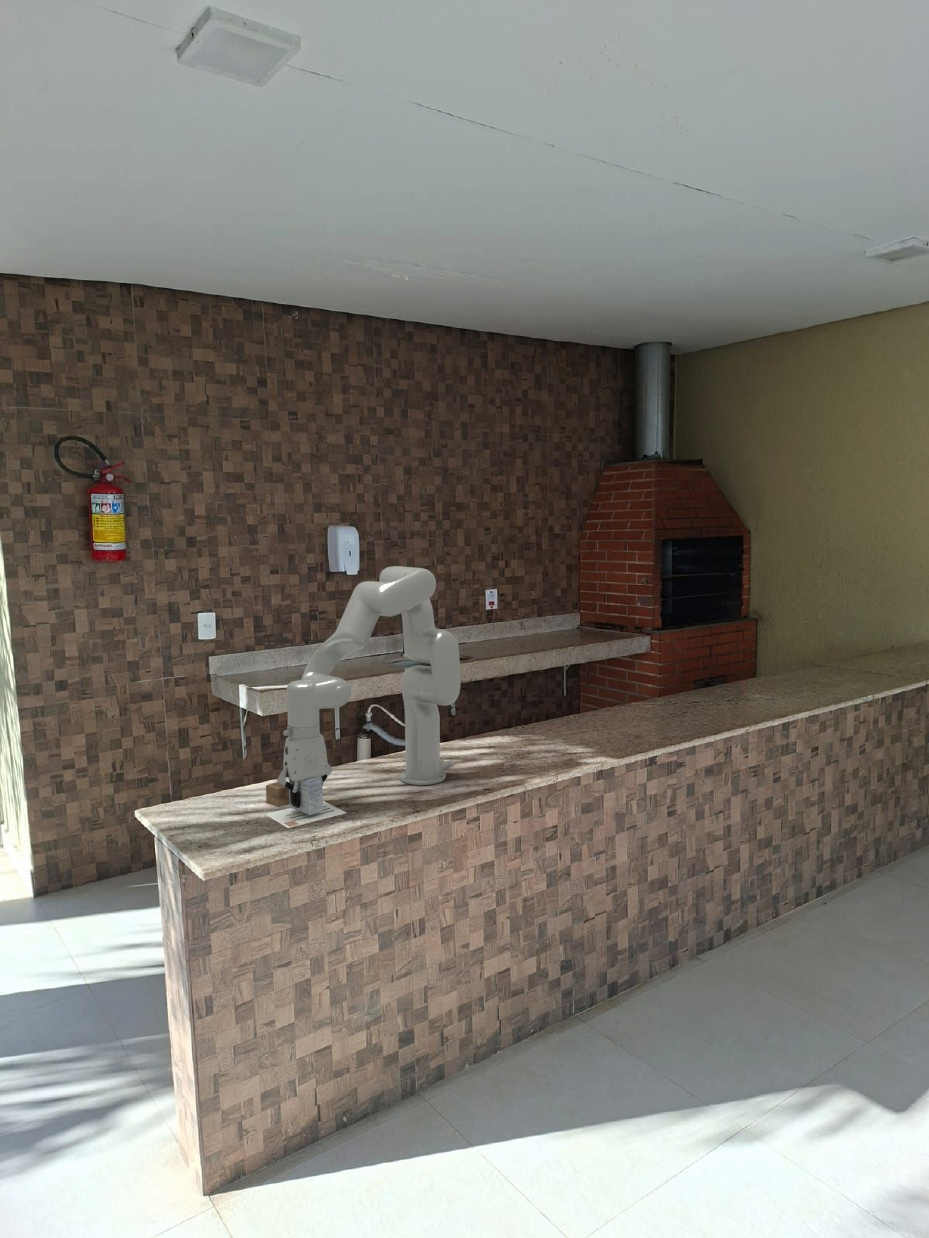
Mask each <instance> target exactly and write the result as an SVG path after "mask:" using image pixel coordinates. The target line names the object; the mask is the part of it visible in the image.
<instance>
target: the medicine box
mask: <svg viewBox="0 0 929 1238" xmlns="http://www.w3.org/2000/svg"><path fill="white" fill-rule="evenodd" d="M289 780H290V778H288V781H289ZM298 792H300V808H296V807H294V806H292V804H291V802H290V804H289V808H292V809H295V810H298V811H300V812H303V813H306V814H309V815H311V814H315V813H317V812H320V811H322V810H323V801H324V799H323V798H324V797H323V795H324V794H323V786H322V777H320V776H318V777H314V778H310V779H306V780H303V781H299V786H298ZM289 798H290V790H289Z"/></svg>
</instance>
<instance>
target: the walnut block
mask: <svg viewBox="0 0 929 1238" xmlns="http://www.w3.org/2000/svg"><path fill="white" fill-rule="evenodd" d="M265 793H266V794H265V799H266V803H267V804H269V805H272V806H275V807H277V808H280V807H283V806H286V805H287V806H288V805H290V798H289V789H288V788H286V787H285V786H284V785H282V784H281V783H279V782H277V781H275V782H273V783H269V784H266V785H265Z"/></svg>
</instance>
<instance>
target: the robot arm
mask: <svg viewBox="0 0 929 1238" xmlns="http://www.w3.org/2000/svg"><path fill="white" fill-rule="evenodd" d="M436 588H437V581H436V577H435V575H434V574H433V573H432V572H431V571H430V570H429V569H426V568H423V567H411V566H410V567H409V566H402V565H401V566H399V565H396V566H395V565H393V566H387V567H386V568H384V569H383V570H381V572H380V574H379V581H371V580H370V581H369V580H368V581H367V580H366V581H362V582H359V583H358V584H357V585H356V586H355V588H354V589H353V592H352V594H351V595H350V598H349V600H348V602H347V605H346V607H345V609H344V612H343V614H342V617H341V619H340V621H339V623H338V626H337V628H336V630H335V632H334V633H333V634H332V635H331V636H330V637H329V638H327V639H326V640H325V641H324V642H323V643H322V644H321V645H320V646H319V647H318V648H317V649H316V650H315V652H313V654H312V656H311V657H310V659H309V661H308V662H307V664H306V667H305V670H304V671H303V674H302V676H301V679H298V680H294V681H293V680H292V681H290V682H289V683H288V684H287V686H286V703H287V704H286V705H287V726H286V727H287V729H285V730H283V732H282V733H283V736H284V737H286V739H285V744H284V748H283V749H284V750H283V763H282V764H283V765H282V766H283V768H282V770H281V772H280V774H279V775H278V777H277V779H276V782H279V783H281V784H282V785H284V786H285V787H286V788H288V789H289V790H290V802H291V804H292V806H294V807H296V808H300V792H298V786H299V781H303V780H306V779H310V778H314V777H318V776H320V777H322V787H323V786H324V782H325V781H326V780H327V778H328V777H329V775H330V774H332V772H333V768H332V766H331V765H330V764H329V762H328V752H327V747H326V742H325V737H324V735H323V734H321V733H320V732H321V731H320V727H321V726H320V710H323V709H337V708H340V707H343V706H345V705H346V704H347V703H348V702H349V701H350V699H351V698H352V697H351V696H352V688H351V686H350V684H349V683H348V682H347V680H345V679H343V678H342V677H341V678H340V677H338V676H332V675H330V674H331V672H332V671H333V670H334V668H335V666H336V665H337V664H338V663H339V662H340V661H341V660H343V659H344V658H346V657H347V656H349V655H352V654H354V653H356V652H358V651H361V650H362V649H364V648H365V647H366V646H367V645H368V643H369V641H370V638H371V636H372V633H373V631H374V628H375V626H376V624H377V621H378V620H379V617H380V616H381V617H382V616H383V617H395V616H398V615H400V614H401V619H402V632H403V634H402V637H403V648H404V654H405V656H406V658H408V659H410V660H411V661H414V662H417V663H423V664H429V665H430V666H427V665H412V666H409V667H408V668H406V670H404V672H403V674H402V676H401V678H400V679H401V680H400V690H401V694H402V699H403V706H404V727H405V728H404V730H405V732H404V736H405V737H404V739H405V741H404V743H405V744H404V745H405V770H404V771H402V772H401V773H400V775H399V779H400V781H402V782H403V783H405V784H407V785H409V784H410V785H412V786H429V785H430V786H431V785H436V784H439V783H442V782H443V781H445V780H446V778H447V777H446V772H444V771H445V770H446V769H448V768H449V769H450V768H453V767H454V766H455V762H454V760H452V759H450V760H446V761H445V759H441V744H440V743H441V739H440V738H441V737H440V736H441V734H440V733H441V731H440V730H441V729H440V728H441V727H440V723H441V722H440V721H441V720H440V719H441V717H440V712H439V708H438V706H443V707H444V706H450V705H452V704H454V703H455V702H456V701H457V699H458V698H459V696H460V692H461V663H460V662H461V660H460V648H459V643H458V641H457V639H456V637H455V636H454V635H453V633H451V632H450V631H448V630H445V629H440V628H436V625H435V617H434V609H433V605H432V602H431V599H430V598H431V597H432V596H433V594H434V593H435V591H436ZM286 778H287V779H288V780H287V779H286ZM289 778H290V780H289Z"/></svg>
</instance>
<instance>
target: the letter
mask: <svg viewBox="0 0 929 1238" xmlns="http://www.w3.org/2000/svg"><path fill="white" fill-rule="evenodd" d="M345 814H347V812H346V811H344V810H342V809H340V808H338V807H336V806H334V805H332V804H330V803H328V802H327V801H325V800H323V810H322V811H320V812H317V813H315V814H311V815H309V814H306V813H303V812H300V811H298V810H295V809H292V808H290V807H289V808H288V807H287V808H285V809H279V810H276V811H272V812H268V813H264V815H265V816H267V817H268V818H270V819H272V820H273V821H275V822H276V823H279V824H280V825H282V826H284V827H285V828H287V829H291V828H294V827H297V826H298V827H299V826H302V825H305V824H309V823H310V824H311V823H313V822H317V821H321V820H325V819H329V818H333V817H337V816H341V815H345Z"/></svg>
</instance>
